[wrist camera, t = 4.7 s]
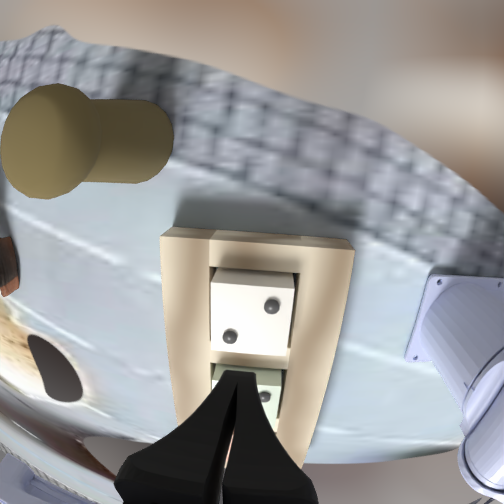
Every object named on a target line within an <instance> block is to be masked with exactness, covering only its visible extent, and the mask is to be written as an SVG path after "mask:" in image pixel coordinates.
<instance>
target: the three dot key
mask: <svg viewBox="0 0 504 504" xmlns="http://www.w3.org/2000/svg"><path fill="white" fill-rule="evenodd" d="M225 370H236V371H247V372H254V373H255V374H256V381H257V388H258V392H259V396H260V399H261V402H262V405H263V408H264V411H265V413H266V416H267V418H268V420H269V423H270V425H271V427H272V428H273V429H275V423H276V417H277V411H278V405H279V399H280V392H281V369H275V368H261V367H249V366H238V365H229V364H220V363H217V364H216V367H215V371H214V375H213V378H212V390H213V388H214V387H215V385H216V384H217V382H218V381H219V379H220V377H221V375H222V374H223V371H225Z"/></svg>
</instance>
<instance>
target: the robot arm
mask: <svg viewBox="0 0 504 504" xmlns="http://www.w3.org/2000/svg"><path fill="white" fill-rule="evenodd" d="M439 279H440V282H439V283H437V281H438V280H439ZM498 283H499V284H498ZM414 356H416V357H414ZM413 357H414V358H413ZM404 358H405V361H406V362H424V361H432V363H433V364H434V366H435V368H436V369H437V371H438V372H439V374H440V376H441V377H442V379H443V381H444V382H445V384H446V386H447V387H448V389H449V391H450V392H451V394H452V396H453V398H454V399H455V401H456V403H457V405H458V406H459V408H460V410H461V412H462V413H463V415H464V417H463V420H462V422H461V424H460V428H461V430H462V432H463V434H464V436H465V438H464V439H463V441H462V442H461V444H460V447H459V450H458V465H459V468H460V471H461V474H462V476H463V478H464V479H465V480H466V482H467V483H468V484H469V485H470V486H471V487H472V488H473V489H474V490H476V491H477V492H479V493H480V494H482V495H486V496H488V497H492V498H494V499H497V500H498V501H500V502H502V503H503V504H504V278H492V277H474V276H457V275H440V274H432V275H430V276H429V278H428V280H427V284H426V288H425V292H424V295H423V299H422V303H421V306H420V310H419V313H418V316H417V320H416V323H415V326H414V329H413V332H412V335H411V339H410V342H409V344H408V347H407V350H406V353H405V356H404ZM233 432H234V433H233ZM232 436H233V438H232ZM231 439H232V443H231ZM230 443H231V448H230V453H229V457H228V462H227V466H226V470H225V474H224V478H223V473H224V467H225V462H226V458H227V454H228V451H229V447H230ZM222 479H223V482H222ZM114 486H115V488H116V490H117V492H118V493H119V495H120V496H121V498H122V499H123V501H124V502H123V504H219V500H220V493H221V486H222V491H223V492H222V493H223V504H318V498H317V494H316V491H315V488H314V486H313V483H312V481H311V479H310V478H309V477H308V476H307V475H306V474H305V473H304V472H303V471H302V470H301V469H300V468H299V467H298V466H297V464H296V463H295V462H294V461H293V460H292V458H291V457H290V456H289V454H288V453H287V451H286V450H285V449H284V447H283V446H282V444H281V443H280V441H279V439H278V438H277V436H276V434H275V432H274V431H273V429H272V427H271V425H270V423H269V420H268V418H267V416H266V413H265V411H264V408H263V405H262V402H261V399H260V396H259V392H258V388H257V381H256V374H255V373H254V372H247V371H236V370H225V371H223V374H222V375H221V377H220V379H219V381H218V382H217V384H216V385H215V387H214V388H213V390H212V391H211V392H210V394H209V395H208V396H207V397H206V399H205V400H204V401H203V402H202V403H201V405H200V406H199V407H198V408H197V409H196V410H195V411H194V412H193V413H192V414H191V415H190V416H189V417H188V418H187V419H186V420H185V421H184V422H183V423H182V424H180V425H179V426H178V427H177V428H176V429H174V430H173V431H172V432H170V433H169V434H168V435H166V436H165V437H163V438H162V439H160V440H158V441H157V442H155V443H154V444H152V445H150V446H148V447H147V448H145V449H142V450H141V451H138V452H136V453H134V454H132V455H130V456H128V457H127V459H126V460H125V462H124V463H123V465H122V466H121V468H120V470H119V472H118V474H117V476H116V479H115V481H114ZM0 503H1V504H97V503H95V502H92V501H90V500H87V499H85V498H83V497H80V496H78V495H76V494H73V493H71V492H69V491H67V490H65V489H63V488H60V487H58V486H56V485H54V484H52V483H50V482H48V481H46V480H44V479H43V478H41V477H39V476H37V475H35V474H34V472H33V471H32V469H31V468H30V467H29V466H28V465H27V464H25V463H24V462H22V461H21V460H19V459H17V458H16V457H14V456H12V455H11V454H9V453H7V454H6V456H5V457H4V459H3V460H2V461H1V463H0Z"/></svg>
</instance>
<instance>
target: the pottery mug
mask: <svg viewBox="0 0 504 504" xmlns="http://www.w3.org/2000/svg"><path fill="white" fill-rule="evenodd" d="M18 288H19V279H18V272H17V262H16V256H15V252H14V248H13V244H12V240H11V238H10V237H5V238H0V290H1V294H2V296H3V297H6V296H8V295H9V294H11V293H12V292H13V291H15V290H16V289H18Z"/></svg>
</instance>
